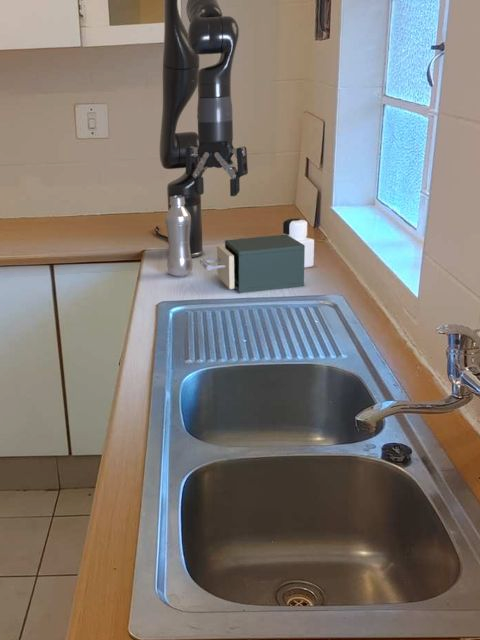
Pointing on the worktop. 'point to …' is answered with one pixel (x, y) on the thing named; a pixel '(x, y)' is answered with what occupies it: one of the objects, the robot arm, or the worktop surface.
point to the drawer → (224, 265)
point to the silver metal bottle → (178, 237)
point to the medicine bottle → (300, 238)
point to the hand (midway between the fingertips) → (216, 195)
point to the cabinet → (268, 262)
